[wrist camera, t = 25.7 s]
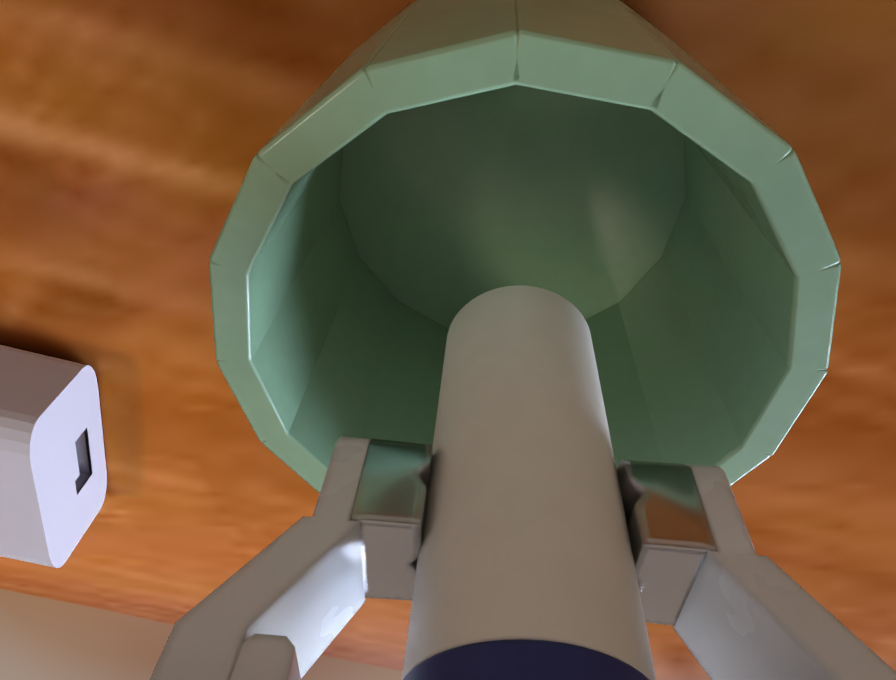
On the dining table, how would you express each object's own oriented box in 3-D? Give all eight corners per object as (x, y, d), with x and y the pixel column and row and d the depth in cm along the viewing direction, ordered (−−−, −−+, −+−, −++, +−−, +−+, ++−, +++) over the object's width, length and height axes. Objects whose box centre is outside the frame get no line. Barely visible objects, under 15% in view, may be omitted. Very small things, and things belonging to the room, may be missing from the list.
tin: (797, 135, 19) (991, 298, 12) (547, 394, 26) (565, 608, 18) (446, -135, 16) (390, -159, 8) (263, 239, 23) (138, 418, 15)
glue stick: (626, 331, 13) (766, 850, 6) (533, 423, 14) (558, 913, 8) (499, 254, 12) (490, 748, 5) (417, 360, 14) (325, 845, 7)
